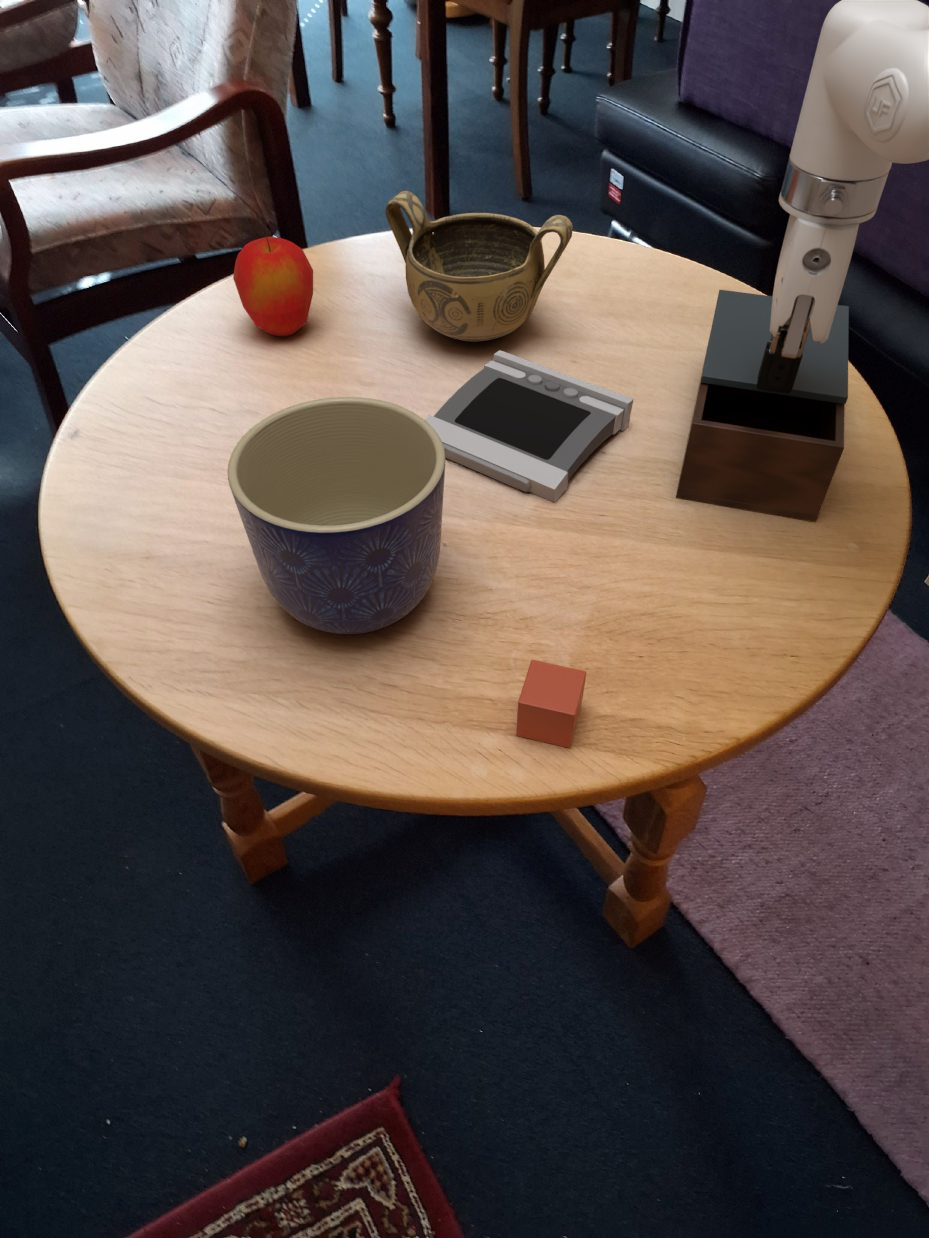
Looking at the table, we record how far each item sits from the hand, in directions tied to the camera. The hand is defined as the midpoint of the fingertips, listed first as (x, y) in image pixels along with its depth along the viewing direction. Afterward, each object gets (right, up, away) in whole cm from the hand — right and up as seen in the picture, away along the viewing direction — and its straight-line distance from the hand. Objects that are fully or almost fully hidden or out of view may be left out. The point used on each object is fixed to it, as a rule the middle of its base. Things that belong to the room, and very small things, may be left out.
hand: (773, 386), depth 84 cm
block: (-22, -30, -13) cm, 39 cm away
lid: (+3, +6, +7) cm, 10 cm away
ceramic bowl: (-28, +14, +28) cm, 42 cm away
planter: (-39, -20, -3) cm, 44 cm away
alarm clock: (-23, -2, +13) cm, 26 cm away
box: (+1, -5, +10) cm, 11 cm away
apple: (-52, +14, +28) cm, 60 cm away
